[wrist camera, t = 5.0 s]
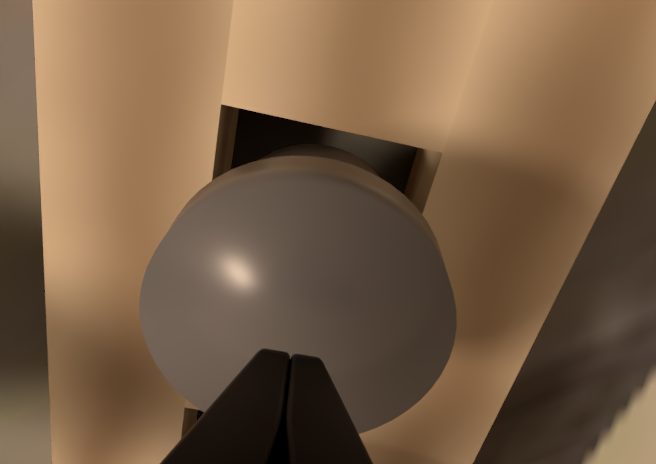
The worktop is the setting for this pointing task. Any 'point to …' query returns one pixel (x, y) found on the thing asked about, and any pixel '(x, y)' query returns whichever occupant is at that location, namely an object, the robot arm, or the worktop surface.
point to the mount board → (341, 114)
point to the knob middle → (302, 283)
